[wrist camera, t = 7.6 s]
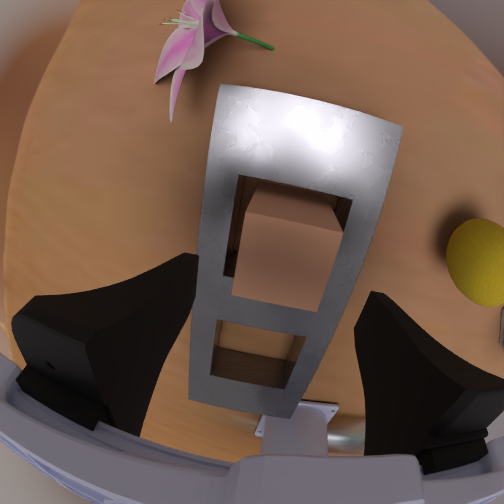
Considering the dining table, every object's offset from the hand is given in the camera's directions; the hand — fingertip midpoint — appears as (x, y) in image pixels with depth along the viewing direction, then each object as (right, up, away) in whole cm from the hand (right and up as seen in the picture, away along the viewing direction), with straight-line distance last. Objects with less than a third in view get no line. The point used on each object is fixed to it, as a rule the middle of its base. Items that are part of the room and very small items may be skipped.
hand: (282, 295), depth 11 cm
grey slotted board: (0, 0, +10) cm, 10 cm away
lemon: (+15, +3, +7) cm, 17 cm away
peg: (+1, +4, +8) cm, 9 cm away
